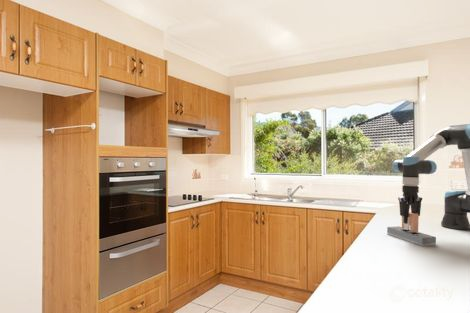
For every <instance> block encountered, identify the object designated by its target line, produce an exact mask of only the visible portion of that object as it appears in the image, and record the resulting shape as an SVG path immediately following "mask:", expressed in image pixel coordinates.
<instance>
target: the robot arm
mask: <svg viewBox="0 0 470 313" xmlns="http://www.w3.org/2000/svg"><path fill="white" fill-rule="evenodd" d="M448 146H457V150H459V151H461V156H462V162H463V168H464V173H465V180H466V187H467V190H450V191H445V193H444V196H443V199H444V214H443V217H442V220H441V222H440V226H441V227H443V228H446V229H452V230H459V231H462V230H463V231H466V230H467V231H468V230H470V221H469V217H468V213H469V214H470V123H466V124H458V125H449V126H446V127H443V128H441V129H440V130H438V131H436V132H435V133H433V134H432V135H431V136H430V137H429V139H428V140H427V141H426V142H424V143H423V144H421V145H420V146H419V147H417V148H416V149H414V150H413V151H411V152H410V153H408V155H406V156H403V158H401V159H396V160H394V161H393V162H392V165H391V166H392V170H393V172H395V173H400V174H402V187H401V191H402V193H403V194H402V196H401V197H400V196H399V197H398V198H397V199H398V202H399V215H400V217H401V218H402V217H404V229H406V230H411V225H410V218H408V216H409V212H411V213H415V214H419V217H420V216H421V209H422V208H421V207H422V202H423V197H420V196H419V195H418V194H419V193H420V190H419V189H420V188H419V183H420V175H432V174H434V173H436V171H437V163H436V162H435V161H433V160H429V159H427V158H429V157H430V156H431V155H432V154H434V153H436V152H437V151H438V150H440V149H444V148H445V147H448Z"/></svg>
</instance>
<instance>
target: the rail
mask: <svg viewBox="0 0 470 313" xmlns="http://www.w3.org/2000/svg"><path fill="white" fill-rule="evenodd" d="M387 235H389V236H392V237H395V238H398V239H400V240H403V241H406V242H410V243H413V244H415V245H418V246H421V247H429V246H431V247H432V246H437V237H436V236H434V235H430V234H426V233H423V232H419V231H418V232H412V231H411V229H410V230H406V229H402V226H387Z"/></svg>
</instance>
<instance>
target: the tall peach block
mask: <svg viewBox="0 0 470 313" xmlns="http://www.w3.org/2000/svg"><path fill="white" fill-rule="evenodd" d="M419 217H420V216H419V214H415V213H411V211H409V216H408V218H410V225H411V229H410V230H411V231H412V232H419ZM401 227H402V229H404V217H402V216H401Z"/></svg>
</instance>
